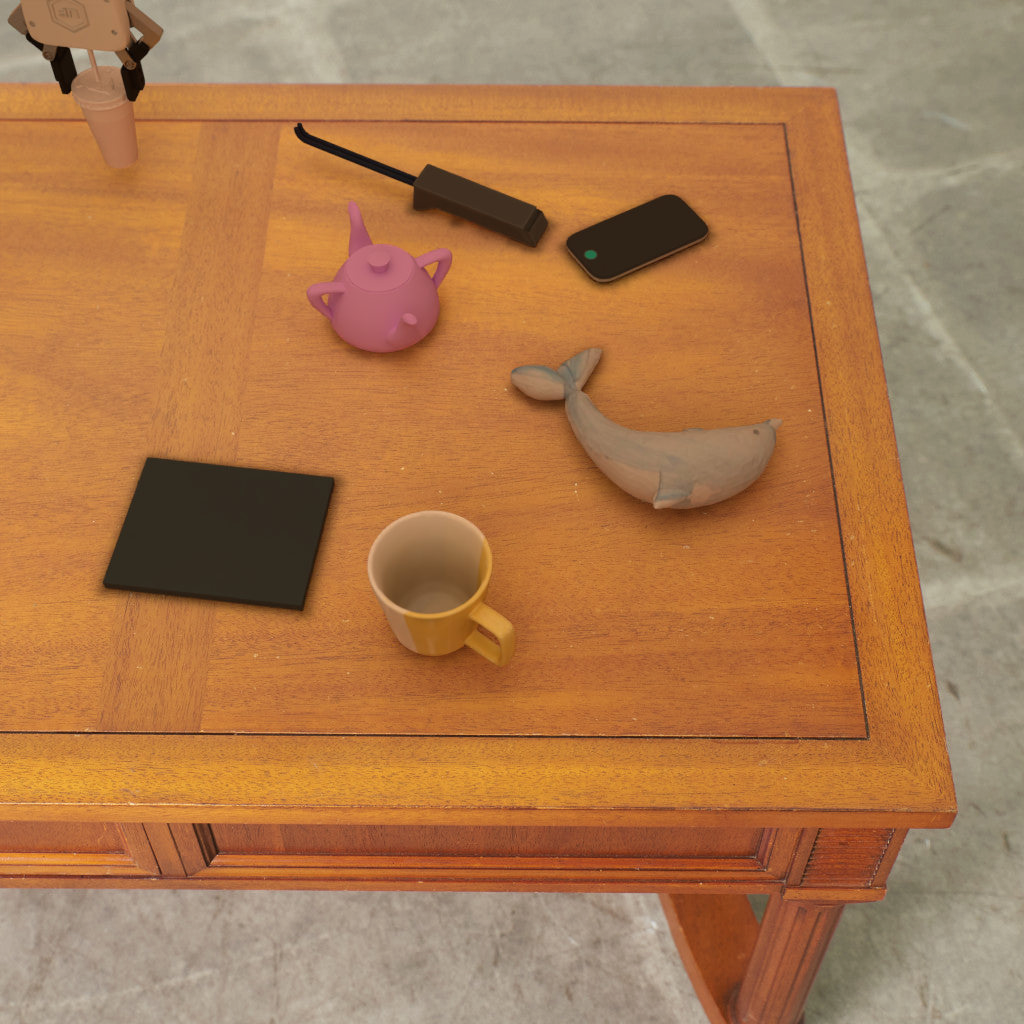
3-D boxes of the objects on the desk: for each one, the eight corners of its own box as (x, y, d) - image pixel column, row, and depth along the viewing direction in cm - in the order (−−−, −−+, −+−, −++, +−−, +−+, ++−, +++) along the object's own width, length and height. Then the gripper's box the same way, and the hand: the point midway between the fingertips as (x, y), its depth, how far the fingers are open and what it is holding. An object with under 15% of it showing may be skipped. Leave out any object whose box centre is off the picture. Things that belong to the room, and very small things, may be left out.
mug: (354, 615, 112) (342, 552, 104) (447, 555, 116) (443, 488, 107) (446, 728, 106) (442, 671, 98) (541, 661, 110) (545, 600, 101)
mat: (104, 588, 114) (101, 582, 113) (149, 462, 122) (146, 456, 121) (303, 611, 113) (301, 605, 112) (335, 483, 120) (333, 476, 120)
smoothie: (128, 130, 144) (100, 21, 133) (162, 158, 142) (136, 49, 130) (80, 155, 142) (46, 46, 130) (113, 184, 139) (82, 75, 128)
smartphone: (560, 237, 138) (674, 189, 142) (560, 243, 138) (673, 195, 143) (599, 282, 134) (714, 230, 138) (598, 288, 135) (713, 236, 139)
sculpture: (637, 283, 131) (820, 412, 117) (631, 342, 136) (804, 471, 123) (500, 347, 123) (678, 493, 109) (499, 407, 128) (669, 553, 115)
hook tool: (546, 235, 141) (305, 139, 145) (550, 211, 138) (304, 114, 142) (532, 257, 139) (289, 160, 143) (536, 234, 136) (287, 135, 140)
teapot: (358, 261, 137) (350, 198, 129) (473, 304, 133) (471, 241, 126) (299, 335, 131) (288, 273, 123) (418, 382, 127) (414, 321, 120)
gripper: (-46, -58, 118) (10, 103, 133) (137, -39, 117) (174, 121, 132) (-17, -102, 122) (35, 59, 137) (160, -84, 121) (193, 76, 136)
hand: (102, 88), depth 134 cm, fingers closed on smoothie, 6 cm apart
